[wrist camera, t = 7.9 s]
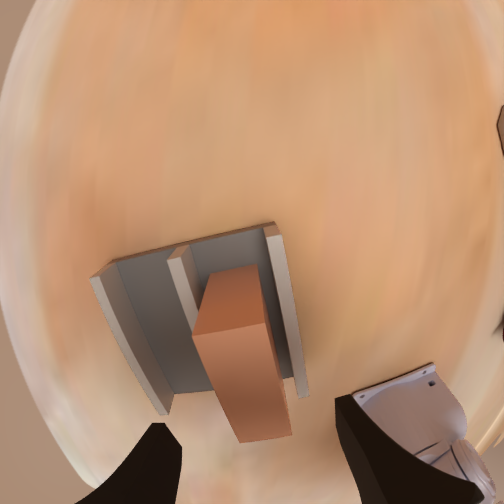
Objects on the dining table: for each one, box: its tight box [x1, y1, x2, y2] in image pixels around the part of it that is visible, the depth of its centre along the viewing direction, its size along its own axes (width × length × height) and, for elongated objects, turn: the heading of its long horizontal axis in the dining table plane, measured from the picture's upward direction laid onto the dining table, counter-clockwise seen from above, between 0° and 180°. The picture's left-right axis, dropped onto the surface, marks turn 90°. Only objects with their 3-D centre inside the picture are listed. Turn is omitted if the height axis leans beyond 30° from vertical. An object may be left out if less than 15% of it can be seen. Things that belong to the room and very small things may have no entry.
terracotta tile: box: [192, 264, 292, 443], centre depth 15 cm, size 8×3×7 cm, turn 13°
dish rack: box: [89, 222, 309, 415], centre depth 18 cm, size 12×12×4 cm
